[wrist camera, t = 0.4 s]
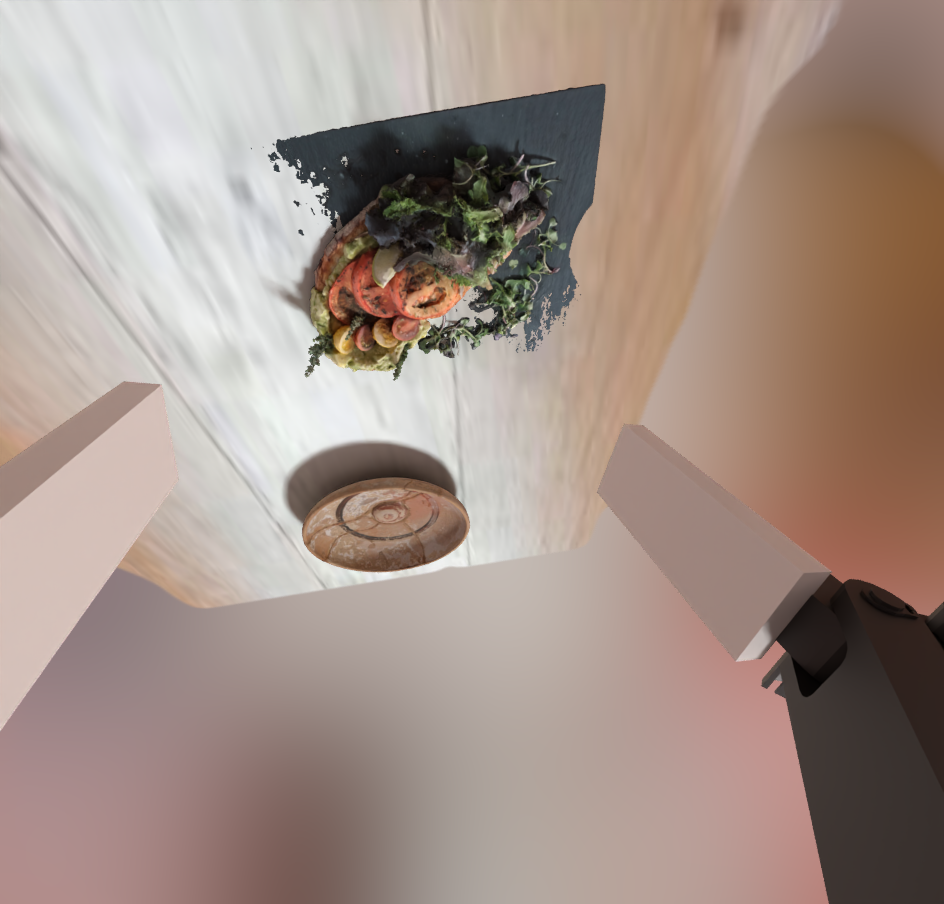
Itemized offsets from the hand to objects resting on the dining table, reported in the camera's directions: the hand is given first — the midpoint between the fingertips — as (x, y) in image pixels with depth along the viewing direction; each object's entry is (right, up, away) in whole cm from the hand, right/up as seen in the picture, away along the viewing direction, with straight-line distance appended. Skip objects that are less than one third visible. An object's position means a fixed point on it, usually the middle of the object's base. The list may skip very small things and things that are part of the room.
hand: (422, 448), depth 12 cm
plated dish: (-3, +16, +25) cm, 30 cm away
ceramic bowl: (-11, -9, +50) cm, 51 cm away
